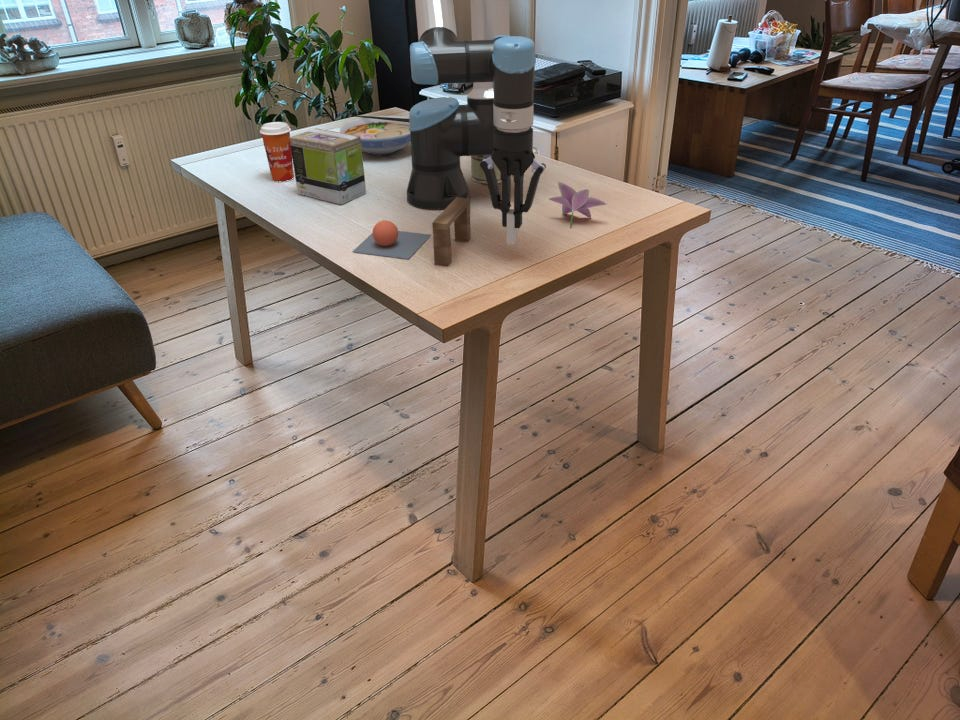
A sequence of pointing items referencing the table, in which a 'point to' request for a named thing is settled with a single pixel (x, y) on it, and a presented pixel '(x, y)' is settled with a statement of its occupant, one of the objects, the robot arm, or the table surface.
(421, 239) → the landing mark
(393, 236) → the ball
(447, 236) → the bridge
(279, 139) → the paper cup
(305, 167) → the tea box
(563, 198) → the lily
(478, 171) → the coffee can
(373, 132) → the ramen bowl
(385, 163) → the table surface
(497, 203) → the robot arm
